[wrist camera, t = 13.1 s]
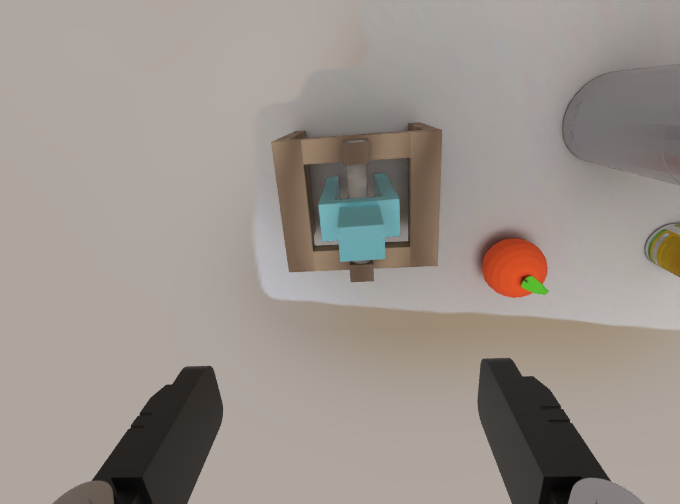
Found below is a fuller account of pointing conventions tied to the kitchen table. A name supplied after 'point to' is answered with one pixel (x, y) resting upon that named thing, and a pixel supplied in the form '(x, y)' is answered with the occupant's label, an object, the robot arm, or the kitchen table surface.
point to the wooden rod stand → (359, 195)
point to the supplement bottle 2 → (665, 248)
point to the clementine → (515, 268)
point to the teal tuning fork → (360, 219)
